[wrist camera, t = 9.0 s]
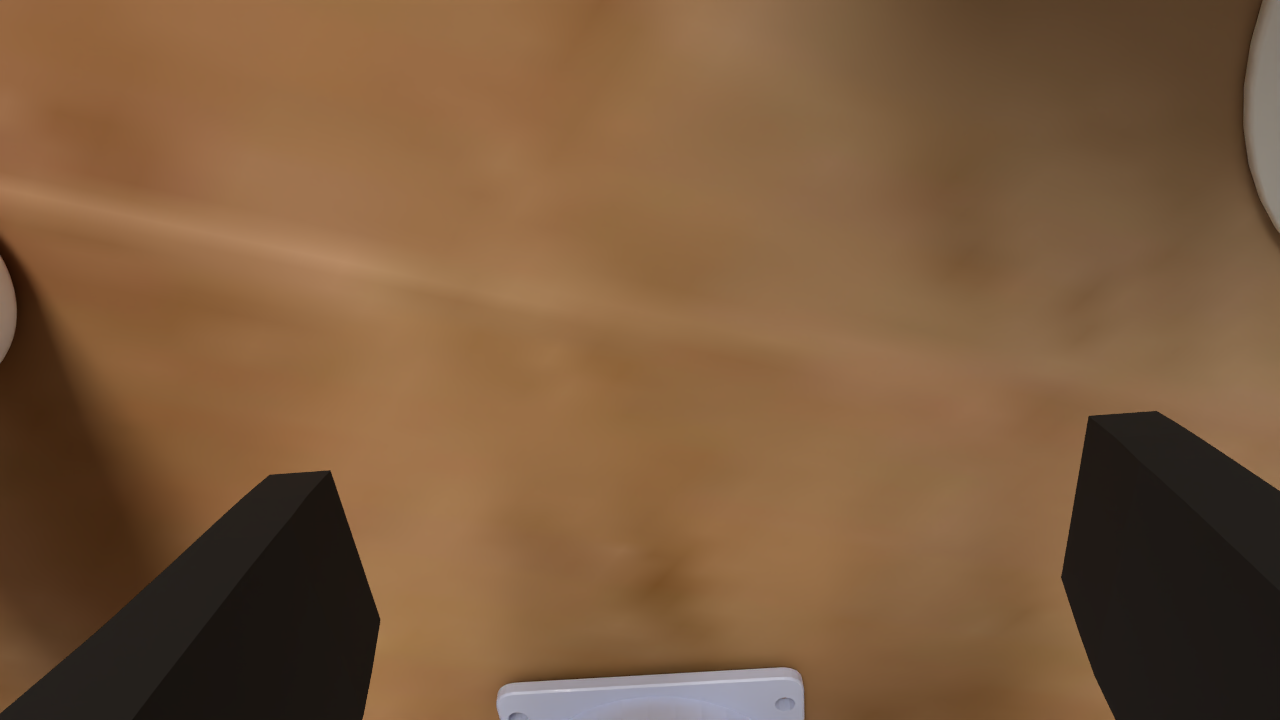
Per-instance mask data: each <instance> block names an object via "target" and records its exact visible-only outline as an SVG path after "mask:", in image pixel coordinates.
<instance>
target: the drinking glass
mask: <svg viewBox="0 0 1280 720" xmlns="http://www.w3.org/2000/svg"><path fill="white" fill-rule="evenodd" d="M16 323H17V302H16V296H15V290H14V286H13V283H12V280H11V277H10V274H9V272H8V269H7V267H6V265H5V263H4V261H3V259H2V257H1V255H0V363H1V362H2V361H3V359H4V358H5V356H6V354H7V352H8V350H9V348H10V346H11V343H12V340H13V337H14V334H15V329H16Z"/></svg>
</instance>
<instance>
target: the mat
mask: <svg viewBox="0 0 1280 720" xmlns="http://www.w3.org/2000/svg"><path fill="white" fill-rule="evenodd" d="M1243 129H1244V136H1245V143H1246V150H1247V157H1248V164H1249V167H1250V171H1251V174H1252V177H1253V180H1254V183H1255V186H1256V190H1257V193H1258V196H1259V198H1260V200H1261V202H1262V204H1263V206H1264V208H1265V210H1266V212H1267V214H1268V215H1269V217H1270V219H1271V221H1272V223H1273V225H1274V227H1275V228H1276V229H1277V231H1278V232H1279V233H1280V0H1263V1H1262V4H1261V8H1260V11H1259V15H1258V18H1257V22H1256V25H1255V29H1254V32H1253V36H1252V39H1251V43H1250V50H1249V56H1248V63H1247V69H1246V75H1245V82H1244V110H1243Z"/></svg>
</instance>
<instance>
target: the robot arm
mask: <svg viewBox="0 0 1280 720" xmlns="http://www.w3.org/2000/svg"><path fill="white" fill-rule="evenodd" d="M1061 578H1062V582H1063V585H1064V588H1065V591H1066V594H1067V597H1068V600H1069V603H1070V606H1071V609H1072V612H1073V615H1074V618H1075V621H1076V624H1077V628H1078V631H1079V633H1080V636H1081V639H1082V642H1083V645H1084V647H1085V650H1086V653H1087V656H1088V659H1089V661H1090V664H1091V667H1092V670H1093V673H1094V675H1095V678H1096V680H1097V682H1098V684H1099V686H1100V688H1101V690H1102V692H1103V695H1104V697H1105V699H1106V701H1107V703H1108V705H1109V707H1110V709H1111V711H1112V713H1113V715H1114V717H1115V719H1116V720H1280V491H1279V490H1277V489H1276V488H1274V487H1273V486H1271V485H1270V484H1268V483H1267V482H1265V481H1264V480H1262V479H1261V478H1259V477H1258V476H1256V475H1255V474H1253V473H1252V472H1250V471H1249V470H1247V469H1246V468H1244V467H1243V466H1241V465H1240V464H1238V463H1237V462H1235V461H1234V460H1233V459H1231V458H1229V457H1228V456H1226V455H1225V454H1223V453H1222V452H1220V451H1219V450H1217V449H1216V448H1214V447H1213V446H1211V445H1210V444H1208V443H1207V442H1205V441H1204V440H1202V439H1201V438H1199V437H1198V436H1196V435H1195V434H1193V433H1192V432H1190V431H1188V430H1187V429H1185V428H1184V427H1182V426H1181V425H1179V424H1177V423H1176V422H1174V421H1172V420H1171V419H1169V418H1167V417H1166V416H1164V415H1162V414H1161V413H1159V412H1157V411H1151V412H1137V413H1123V414H1109V415H1095V416H1089V417H1088V423H1087V429H1086V435H1085V441H1084V447H1083V453H1082V459H1081V465H1080V470H1079V476H1078V482H1077V488H1076V494H1075V500H1074V506H1073V512H1072V517H1071V523H1070V529H1069V535H1068V541H1067V547H1066V553H1065V559H1064V565H1063V570H1062V576H1061ZM379 625H380V617H379V614H378V611H377V608H376V605H375V602H374V599H373V596H372V593H371V590H370V587H369V584H368V581H367V578H366V575H365V572H364V569H363V566H362V563H361V560H360V557H359V554H358V551H357V549H356V546H355V543H354V540H353V537H352V534H351V531H350V528H349V525H348V522H347V519H346V516H345V513H344V510H343V507H342V504H341V501H340V498H339V495H338V492H337V489H336V486H335V483H334V480H333V477H332V474H331V471H316V472H302V473H288V474H274V475H269V476H268V477H267V478H265V479H264V480H263V481H262V482H261V483H259V484H258V485H257V486H256V487H255V488H253V489H252V490H251V491H250V492H249V493H248V494H247V495H245V496H244V497H243V498H242V499H241V500H240V501H239V502H238V503H236V504H235V505H234V506H233V507H232V508H231V509H230V510H229V511H228V512H227V513H225V514H224V515H223V516H222V517H221V518H220V519H219V520H218V521H217V522H216V523H215V524H214V525H212V526H211V527H210V528H209V529H208V530H207V531H206V532H205V533H204V534H203V535H202V536H201V537H200V538H198V539H197V540H196V541H195V542H194V543H193V544H192V545H191V546H190V547H189V548H188V549H187V550H186V551H185V552H183V553H182V554H181V555H180V556H179V557H178V558H177V559H176V560H175V561H174V562H173V563H172V564H171V565H169V566H168V567H167V568H166V569H165V570H164V571H163V572H162V573H161V574H160V575H158V576H157V577H156V578H155V579H154V580H153V581H152V582H151V583H150V584H149V585H148V586H146V587H145V588H144V589H143V590H142V591H141V592H140V593H139V594H138V595H137V596H136V597H134V598H133V599H132V600H131V601H130V602H129V603H128V604H127V605H126V606H125V607H123V608H122V609H121V610H120V611H119V612H118V613H117V614H116V615H115V616H114V617H113V618H111V619H110V620H109V621H108V622H107V623H106V624H105V625H104V626H103V627H101V628H100V629H99V630H98V631H97V632H96V633H95V634H94V635H92V636H91V637H90V638H89V639H88V640H86V641H85V642H84V643H83V644H82V645H81V646H79V647H78V648H77V649H76V650H75V651H73V652H72V653H71V654H70V655H69V656H68V657H66V658H65V659H64V660H63V661H62V662H61V663H59V664H58V665H57V666H56V667H55V668H53V669H52V670H51V671H50V672H49V673H48V674H46V675H45V676H44V677H43V678H42V679H40V680H39V681H38V682H37V683H36V684H35V685H33V686H32V687H31V688H30V689H29V690H28V691H26V692H25V693H24V694H23V695H22V696H20V697H19V698H18V699H17V700H16V701H15V702H13V703H12V704H11V705H10V706H9V707H7V708H6V709H5V710H4V711H3V712H2V713H0V720H362V719H363V715H364V709H365V704H366V699H367V694H368V689H369V684H370V679H371V674H372V668H373V662H374V656H375V650H376V644H377V637H378V631H379ZM782 698H784V699H782ZM496 706H497V710H498V714H499V717H500V720H804V686H803V680H802V677H801V674H800V673H799V672H798V671H797V670H794V669H791V668H786V667H777V668H760V669H742V670H725V671H708V672H690V673H673V674H655V675H638V676H620V677H603V678H585V679H568V680H551V681H533V682H516V683H510V684H506V685H504V686H503V687H501V688H500V690H499V691H498V696H497V705H496ZM516 712H518V713H516Z"/></svg>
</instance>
